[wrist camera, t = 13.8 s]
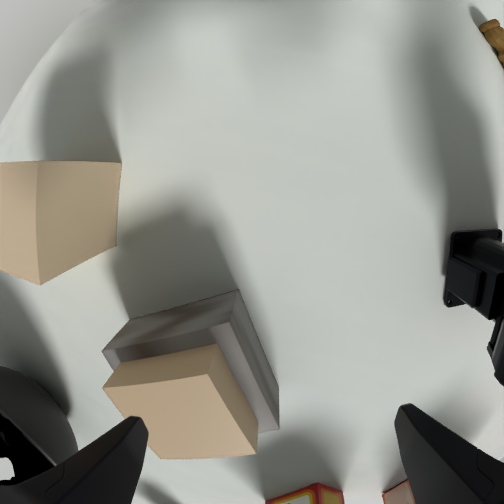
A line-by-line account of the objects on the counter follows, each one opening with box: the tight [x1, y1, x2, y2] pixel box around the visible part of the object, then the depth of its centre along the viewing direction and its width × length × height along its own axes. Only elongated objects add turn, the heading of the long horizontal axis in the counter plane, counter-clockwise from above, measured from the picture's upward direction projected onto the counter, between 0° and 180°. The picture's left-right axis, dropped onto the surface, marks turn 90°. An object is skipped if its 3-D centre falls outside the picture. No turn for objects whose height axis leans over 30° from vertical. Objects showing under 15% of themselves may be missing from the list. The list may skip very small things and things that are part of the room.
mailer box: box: [0, 161, 122, 285], centre depth 15 cm, size 6×6×9 cm
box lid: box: [102, 343, 259, 459], centre depth 16 cm, size 8×8×3 cm
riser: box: [102, 289, 279, 433], centre depth 20 cm, size 10×10×5 cm
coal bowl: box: [0, 366, 78, 486], centre depth 18 cm, size 20×20×19 cm
